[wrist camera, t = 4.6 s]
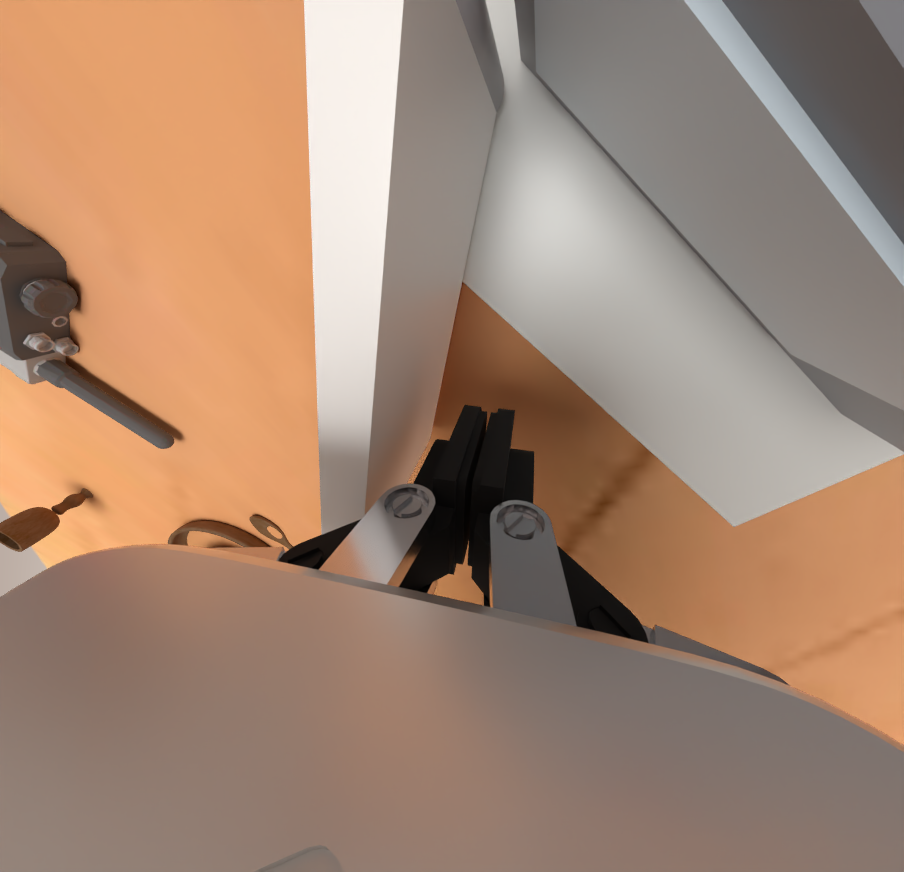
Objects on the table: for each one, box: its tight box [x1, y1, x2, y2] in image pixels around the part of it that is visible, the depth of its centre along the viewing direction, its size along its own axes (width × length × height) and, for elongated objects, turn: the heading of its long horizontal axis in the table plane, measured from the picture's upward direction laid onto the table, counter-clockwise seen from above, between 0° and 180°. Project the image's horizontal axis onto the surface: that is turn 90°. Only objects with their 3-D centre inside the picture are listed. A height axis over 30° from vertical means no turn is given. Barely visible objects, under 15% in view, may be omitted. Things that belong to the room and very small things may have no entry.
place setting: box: [0, 488, 293, 552], centre depth 26 cm, size 18×20×6 cm
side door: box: [304, 0, 504, 534], centre depth 9 cm, size 13×1×8 cm, turn 168°
